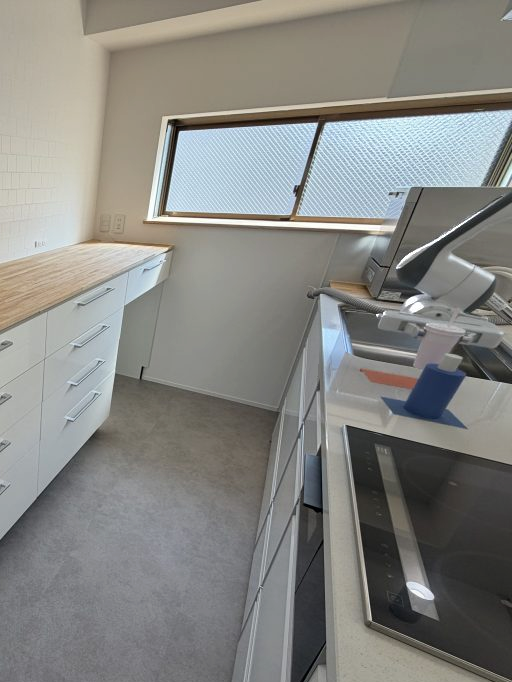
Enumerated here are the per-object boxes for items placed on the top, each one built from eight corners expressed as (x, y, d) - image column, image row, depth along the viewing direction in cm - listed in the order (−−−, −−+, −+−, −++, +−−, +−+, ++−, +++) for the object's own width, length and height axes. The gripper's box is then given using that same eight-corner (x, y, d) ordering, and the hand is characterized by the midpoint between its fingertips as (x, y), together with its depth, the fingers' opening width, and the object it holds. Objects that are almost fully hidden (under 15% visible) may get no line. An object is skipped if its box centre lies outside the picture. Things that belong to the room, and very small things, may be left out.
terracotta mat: (422, 381, 104) (423, 379, 104) (437, 395, 97) (438, 393, 97) (359, 370, 109) (360, 368, 109) (369, 383, 102) (370, 381, 101)
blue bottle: (433, 408, 90) (466, 353, 84) (445, 421, 85) (481, 364, 79) (398, 402, 92) (428, 348, 86) (409, 414, 87) (441, 357, 81)
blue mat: (446, 411, 90) (448, 409, 90) (467, 431, 83) (468, 429, 83) (379, 398, 94) (380, 396, 94) (392, 415, 87) (393, 413, 87)
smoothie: (451, 374, 91) (487, 312, 84) (422, 373, 91) (455, 311, 84) (425, 362, 96) (456, 304, 90) (397, 361, 96) (427, 303, 90)
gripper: (381, 301, 103) (387, 313, 93) (497, 317, 93) (518, 333, 83) (370, 325, 106) (375, 339, 96) (481, 344, 96) (500, 362, 86)
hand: (442, 337), depth 89 cm, fingers closed on smoothie, 6 cm apart
